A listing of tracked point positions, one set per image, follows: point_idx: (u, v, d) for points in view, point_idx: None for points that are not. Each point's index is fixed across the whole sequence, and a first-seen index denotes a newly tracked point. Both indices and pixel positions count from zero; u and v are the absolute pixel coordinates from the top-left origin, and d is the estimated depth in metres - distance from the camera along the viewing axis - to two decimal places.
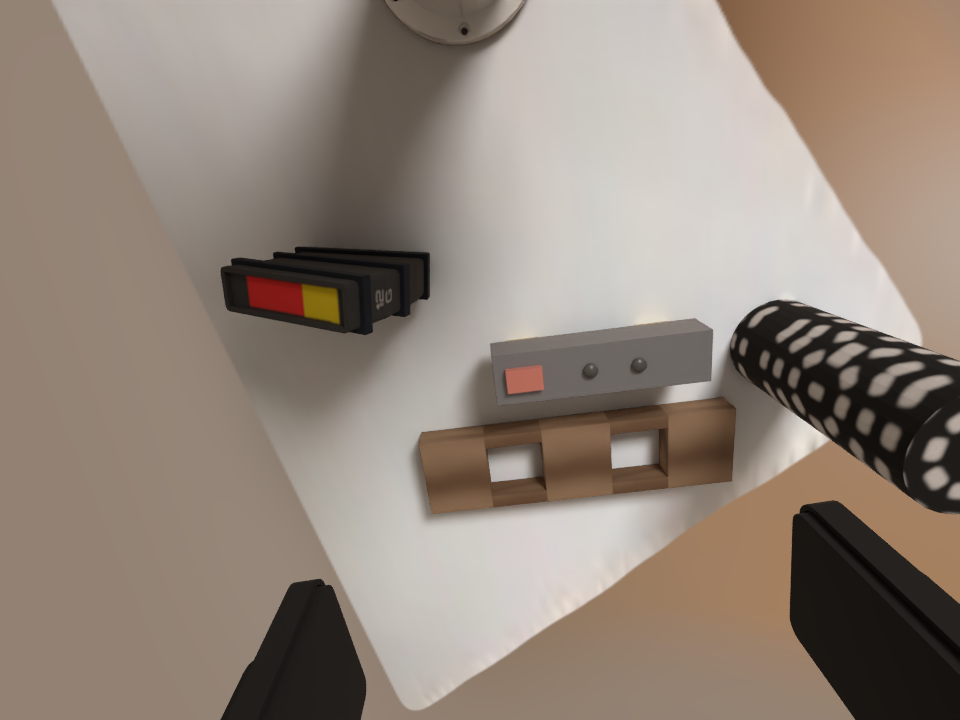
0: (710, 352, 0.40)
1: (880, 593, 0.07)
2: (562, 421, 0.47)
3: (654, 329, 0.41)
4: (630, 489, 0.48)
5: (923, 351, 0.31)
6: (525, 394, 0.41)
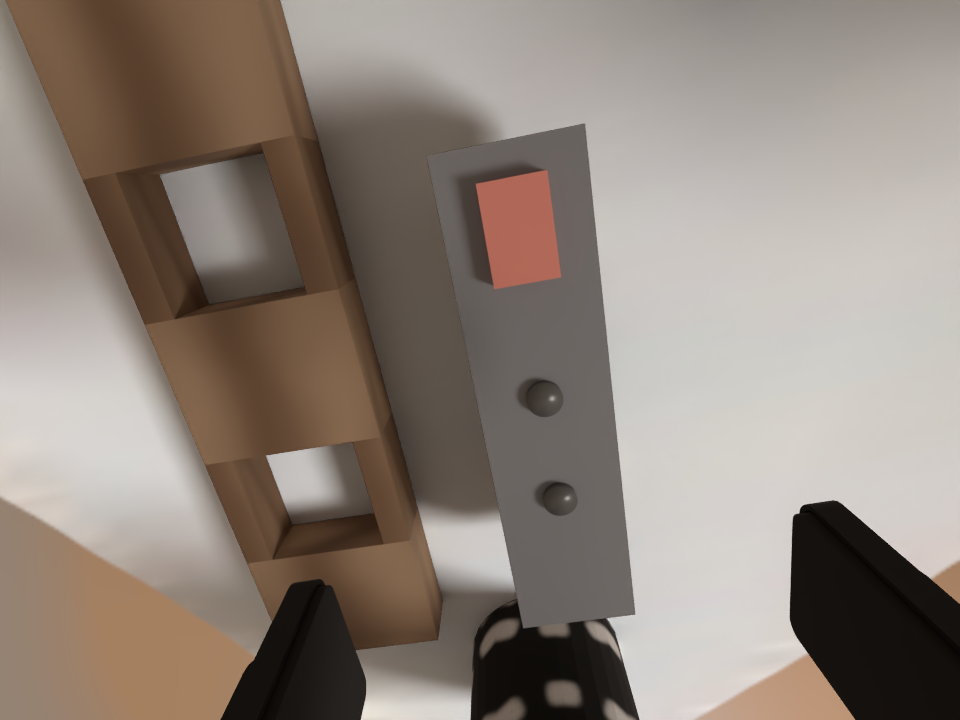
0: (586, 618, 0.20)
1: (880, 593, 0.07)
2: (361, 333, 0.21)
3: None
4: (226, 497, 0.22)
5: None
6: (468, 238, 0.15)
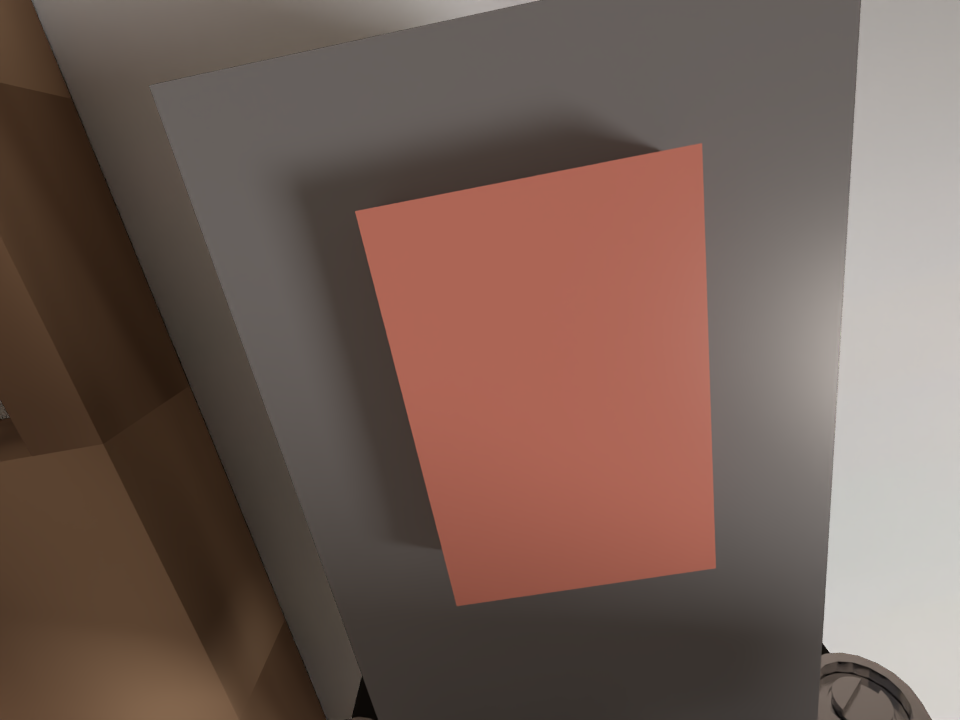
0: None
1: None
2: (197, 507, 0.10)
3: None
4: None
5: None
6: (361, 406, 0.04)
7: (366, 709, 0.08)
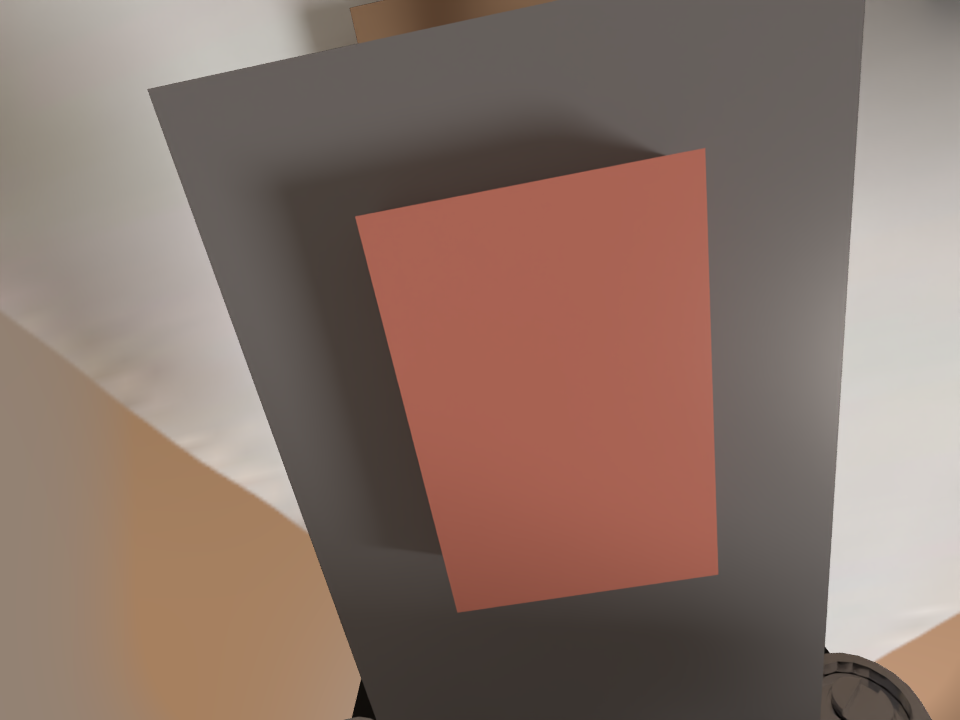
0: None
1: None
2: None
3: None
4: None
5: None
6: (361, 411, 0.04)
7: (366, 709, 0.08)
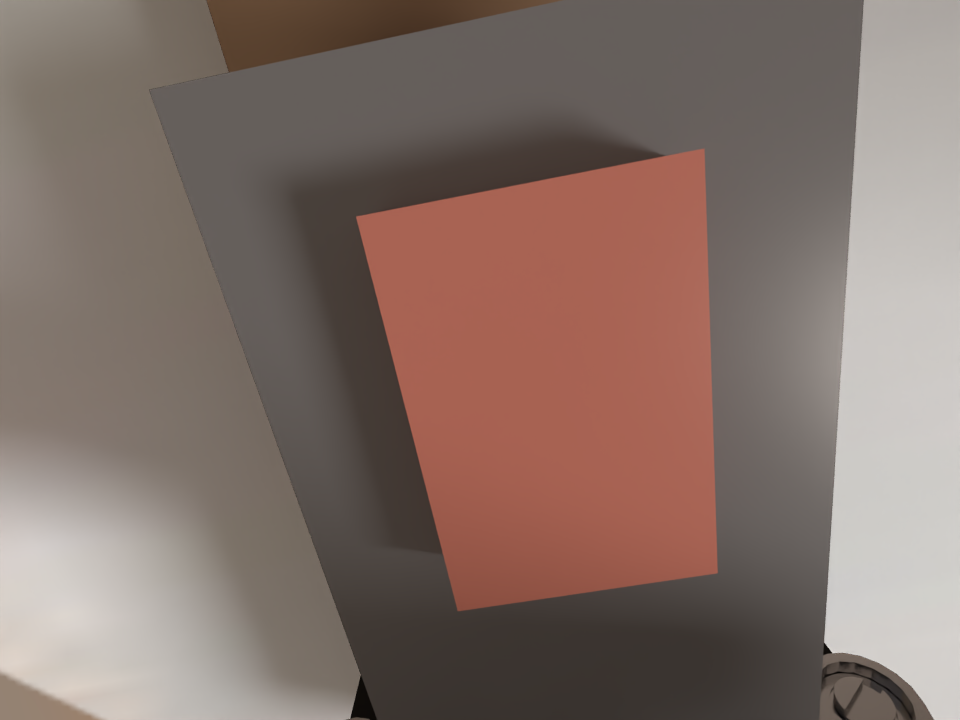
0: None
1: None
2: None
3: None
4: None
5: None
6: (361, 411, 0.04)
7: (365, 709, 0.08)
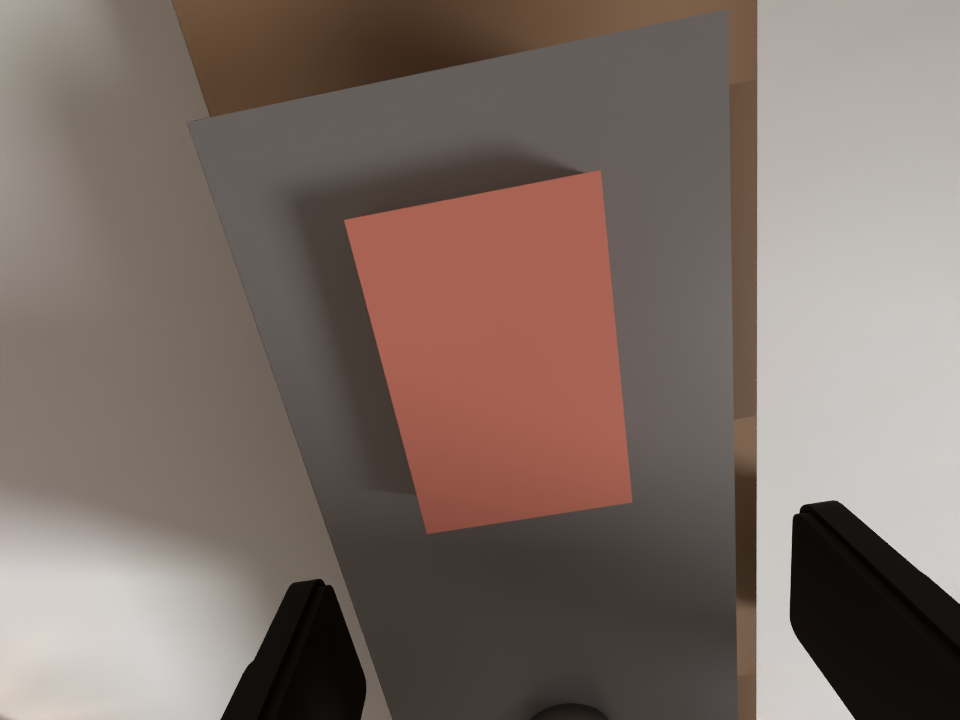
0: None
1: (880, 593, 0.07)
2: None
3: None
4: None
5: None
6: (351, 375, 0.05)
7: None
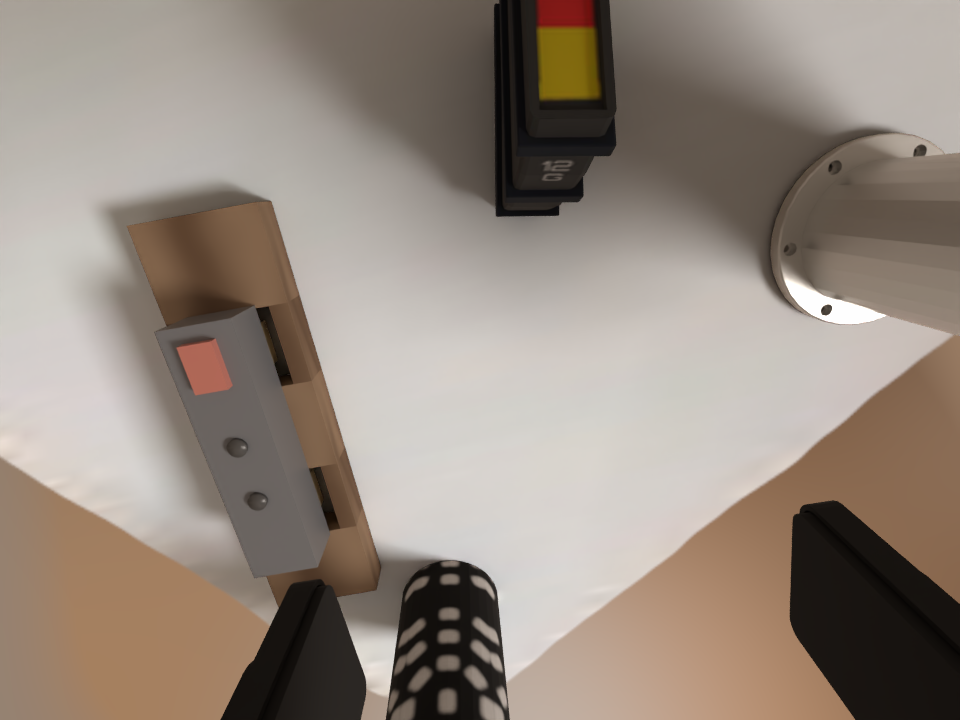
0: (290, 570, 0.34)
1: (880, 593, 0.07)
2: (325, 402, 0.35)
3: (308, 502, 0.34)
4: None
5: None
6: (182, 369, 0.29)
7: None
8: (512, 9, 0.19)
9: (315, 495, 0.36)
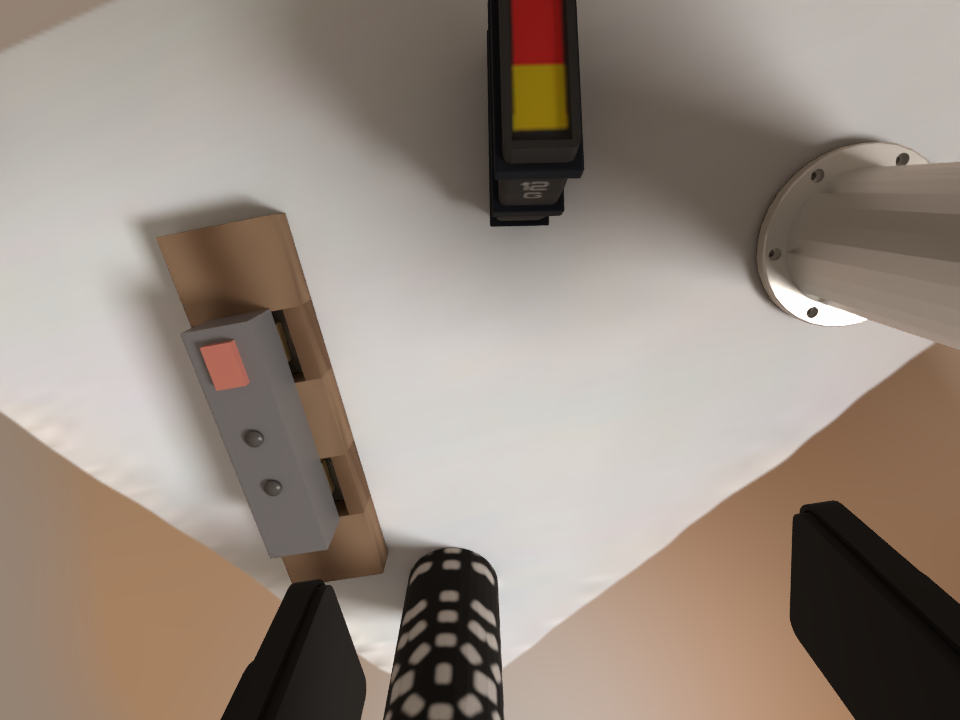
0: (302, 552, 0.37)
1: (880, 593, 0.07)
2: (335, 398, 0.38)
3: (319, 489, 0.37)
4: None
5: None
6: (205, 367, 0.32)
7: None
8: (492, 47, 0.21)
9: (326, 483, 0.39)
